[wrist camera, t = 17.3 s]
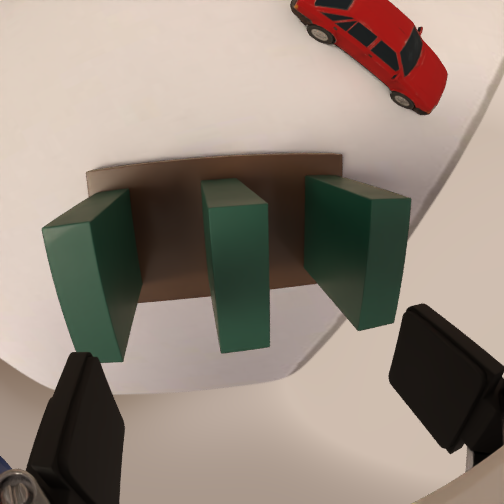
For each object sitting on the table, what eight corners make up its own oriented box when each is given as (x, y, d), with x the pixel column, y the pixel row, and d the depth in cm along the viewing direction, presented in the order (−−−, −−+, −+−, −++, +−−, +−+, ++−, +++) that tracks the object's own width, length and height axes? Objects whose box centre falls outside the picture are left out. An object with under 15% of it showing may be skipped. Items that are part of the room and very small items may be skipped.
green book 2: (236, 177, 21) (268, 203, 13) (241, 274, 23) (270, 347, 15) (200, 180, 21) (208, 208, 12) (207, 277, 23) (221, 354, 15)
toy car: (412, 123, 23) (451, 125, 19) (275, 19, 19) (296, -7, 14) (437, 73, 22) (474, 69, 18) (313, -29, 18) (338, -56, 13)
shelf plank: (330, 273, 27) (337, 281, 25) (112, 296, 24) (109, 305, 22) (334, 153, 23) (342, 154, 22) (92, 169, 20) (85, 172, 19)
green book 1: (129, 188, 20) (90, 221, 12) (142, 284, 22) (123, 362, 14) (96, 192, 19) (40, 228, 11) (112, 287, 22) (80, 363, 14)
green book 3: (335, 174, 22) (411, 198, 14) (332, 264, 25) (394, 323, 16) (304, 175, 22) (371, 199, 14) (303, 268, 24) (357, 331, 16)
